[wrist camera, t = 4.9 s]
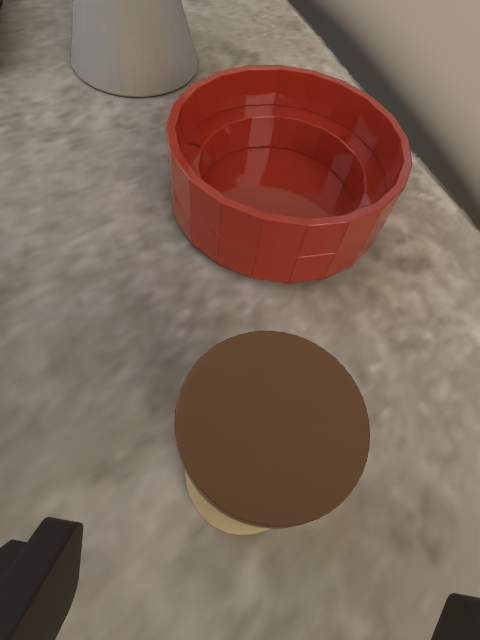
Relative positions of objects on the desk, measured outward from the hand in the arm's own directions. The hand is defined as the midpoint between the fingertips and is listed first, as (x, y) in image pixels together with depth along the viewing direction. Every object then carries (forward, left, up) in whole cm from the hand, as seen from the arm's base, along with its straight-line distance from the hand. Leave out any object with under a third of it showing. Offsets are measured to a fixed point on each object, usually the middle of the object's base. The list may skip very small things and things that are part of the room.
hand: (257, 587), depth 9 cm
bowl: (-6, +21, -9) cm, 24 cm away
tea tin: (-1, +4, -9) cm, 10 cm away
